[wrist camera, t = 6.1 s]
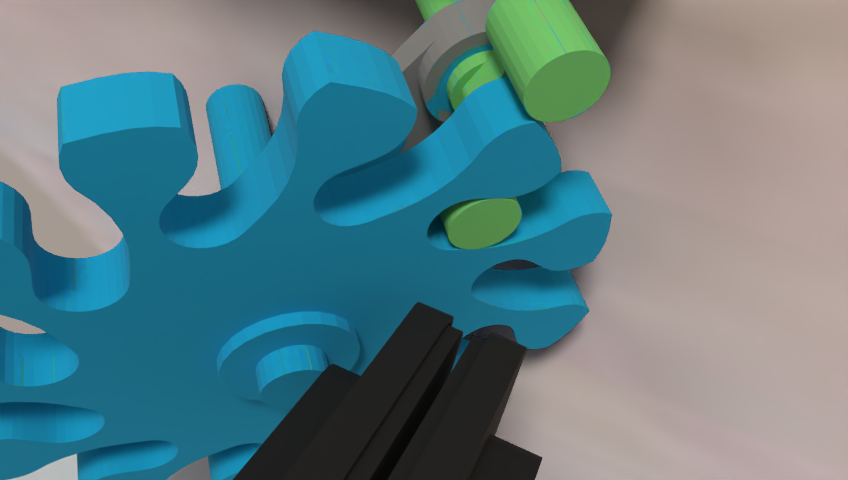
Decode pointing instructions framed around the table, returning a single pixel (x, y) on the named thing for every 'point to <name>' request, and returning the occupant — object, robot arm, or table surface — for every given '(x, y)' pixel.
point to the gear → (295, 235)
